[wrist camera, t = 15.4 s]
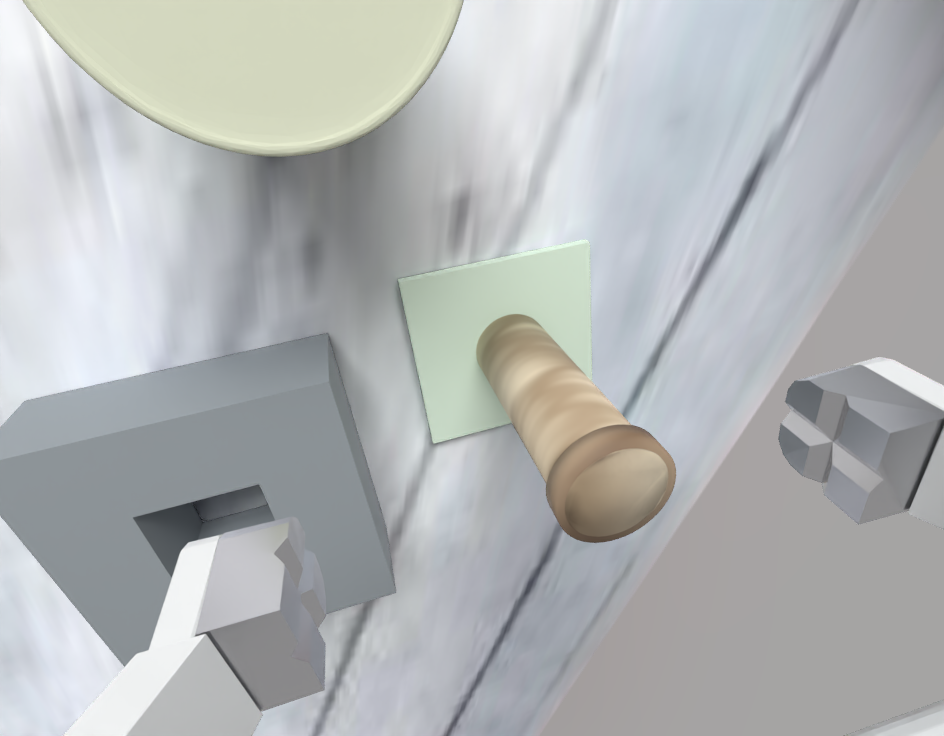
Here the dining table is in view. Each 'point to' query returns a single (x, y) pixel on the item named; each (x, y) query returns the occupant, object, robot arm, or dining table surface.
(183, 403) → the socket
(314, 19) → the can
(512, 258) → the mat
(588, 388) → the plug
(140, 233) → the dining table surface
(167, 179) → the dining table surface
